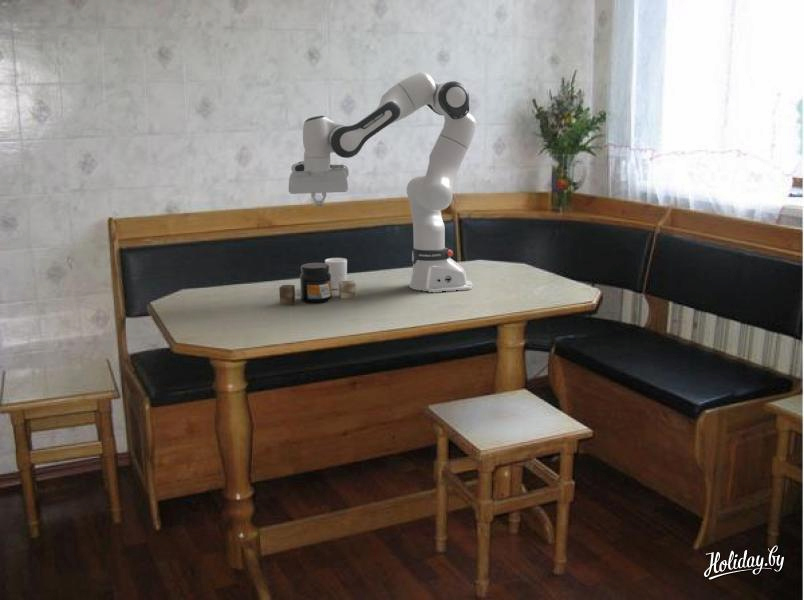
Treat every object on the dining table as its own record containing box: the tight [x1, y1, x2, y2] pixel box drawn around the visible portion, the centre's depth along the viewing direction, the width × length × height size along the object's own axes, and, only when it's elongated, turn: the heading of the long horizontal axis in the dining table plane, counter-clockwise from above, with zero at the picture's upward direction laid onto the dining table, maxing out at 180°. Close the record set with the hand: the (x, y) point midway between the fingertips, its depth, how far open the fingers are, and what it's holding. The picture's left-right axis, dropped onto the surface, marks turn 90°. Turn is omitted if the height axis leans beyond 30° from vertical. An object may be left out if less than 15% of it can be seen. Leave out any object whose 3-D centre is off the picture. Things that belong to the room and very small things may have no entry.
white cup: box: [324, 257, 348, 290], centre depth 305 cm, size 8×8×10 cm
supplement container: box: [299, 262, 333, 304], centre depth 287 cm, size 10×10×12 cm
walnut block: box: [278, 284, 296, 306], centre depth 283 cm, size 4×4×6 cm
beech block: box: [338, 280, 357, 300], centre depth 292 cm, size 5×5×5 cm
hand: (319, 206), depth 291 cm, fingers closed
